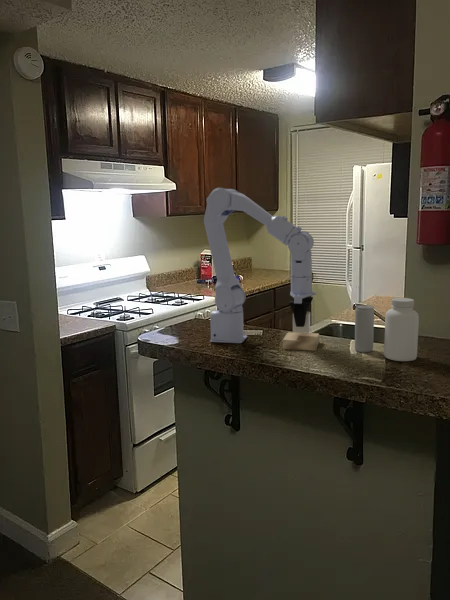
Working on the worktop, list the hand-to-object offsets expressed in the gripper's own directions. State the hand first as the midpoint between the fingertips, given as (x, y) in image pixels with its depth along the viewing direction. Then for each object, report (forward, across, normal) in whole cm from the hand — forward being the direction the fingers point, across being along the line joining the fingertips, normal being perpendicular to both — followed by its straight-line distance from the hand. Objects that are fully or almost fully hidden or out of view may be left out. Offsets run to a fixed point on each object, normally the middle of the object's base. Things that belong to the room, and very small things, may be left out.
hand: (301, 324), depth 142 cm
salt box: (+2, 0, 0) cm, 2 cm away
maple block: (+6, 0, 0) cm, 6 cm away
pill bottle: (+6, -8, -26) cm, 28 cm away
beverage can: (+6, -2, -17) cm, 18 cm away
